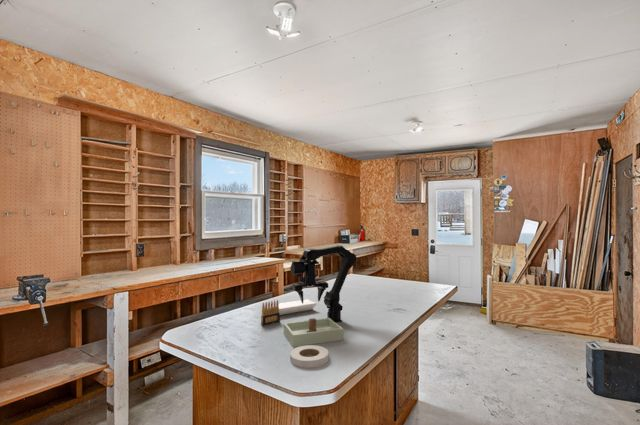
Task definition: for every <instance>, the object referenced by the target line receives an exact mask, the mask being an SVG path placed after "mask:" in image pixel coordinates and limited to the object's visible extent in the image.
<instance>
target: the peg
mask: <svg viewBox="0 0 640 425" xmlns="http://www.w3.org/2000/svg"><path fill="white" fill-rule="evenodd" d="M316 319H317V318H314V317H313V318H309V319H308V320H309V332H316Z"/></svg>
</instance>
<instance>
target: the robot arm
mask: <svg viewBox="0 0 640 425" xmlns="http://www.w3.org/2000/svg"><path fill="white" fill-rule="evenodd" d="M335 254H338V256H339V257H340V258H341V261H340V264H341V266H340V269H339V271H338V273H337V276H336V278H335V280H334V283H333V285H332V287H331V290H329V291H326V292H325V290H327V289H329V282H327V281H324V280H321V281H318V282H316V278H317V275H316V265H320V262H319V261H318V259H319V258H321V257H325V256H330V255H335ZM357 259H358V257H357V255H356V254H355V253H353V252H351V251H350V250H348V249H347V248H346V247H344V246H343V245H338V244H337V245H335V246H330V247H324V248H317V249H316V248H307V249H304V251H303V253H302V256H301V257H300V258H299V260H298V261H295V260H294V261H291V265H290V268H289V270H290V274H291V275H294V276H295V275H301V276H298V278H297V279H298V283H294V284H292V285H291V287H292V288H291V289H292V290H293V291H294V292H295V293H297V294H298V296H299V298H300V299H299V300H301V302H302V303H303V300H304V290H303V289H312V288H317V301H318V302H320V301H321V299H322V296H323V293H324V292H325V295H324V297H323V303H324V304H325V306H326V308H327V309H328V310H327V312H326V313H327V314H326V315H327V318H330V319H331V320H333V321H334V322H335V323H339V322H343V320H342V317H341V316H342V314H341V311H342V310H343V305H342V304H341V303H340V300H341V296H340V295H341V294H340V293H341V290H342V288H343V286H344V283H345V281H346V278H347V275H348V273H349V272H350V269H351V268H353V267H354V265H355V263H356V262H357ZM302 274H303V275H304V276H302Z"/></svg>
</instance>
